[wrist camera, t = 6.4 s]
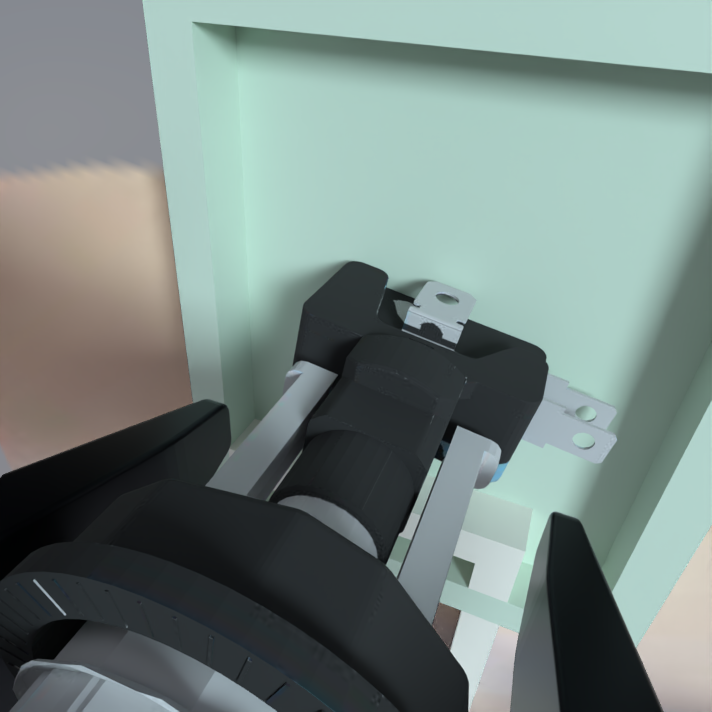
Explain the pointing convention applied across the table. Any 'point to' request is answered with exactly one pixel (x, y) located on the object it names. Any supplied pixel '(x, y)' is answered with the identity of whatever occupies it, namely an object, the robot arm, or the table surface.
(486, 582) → the pale rectangular frame
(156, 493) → the push button
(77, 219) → the table surface
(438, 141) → the parts tray
